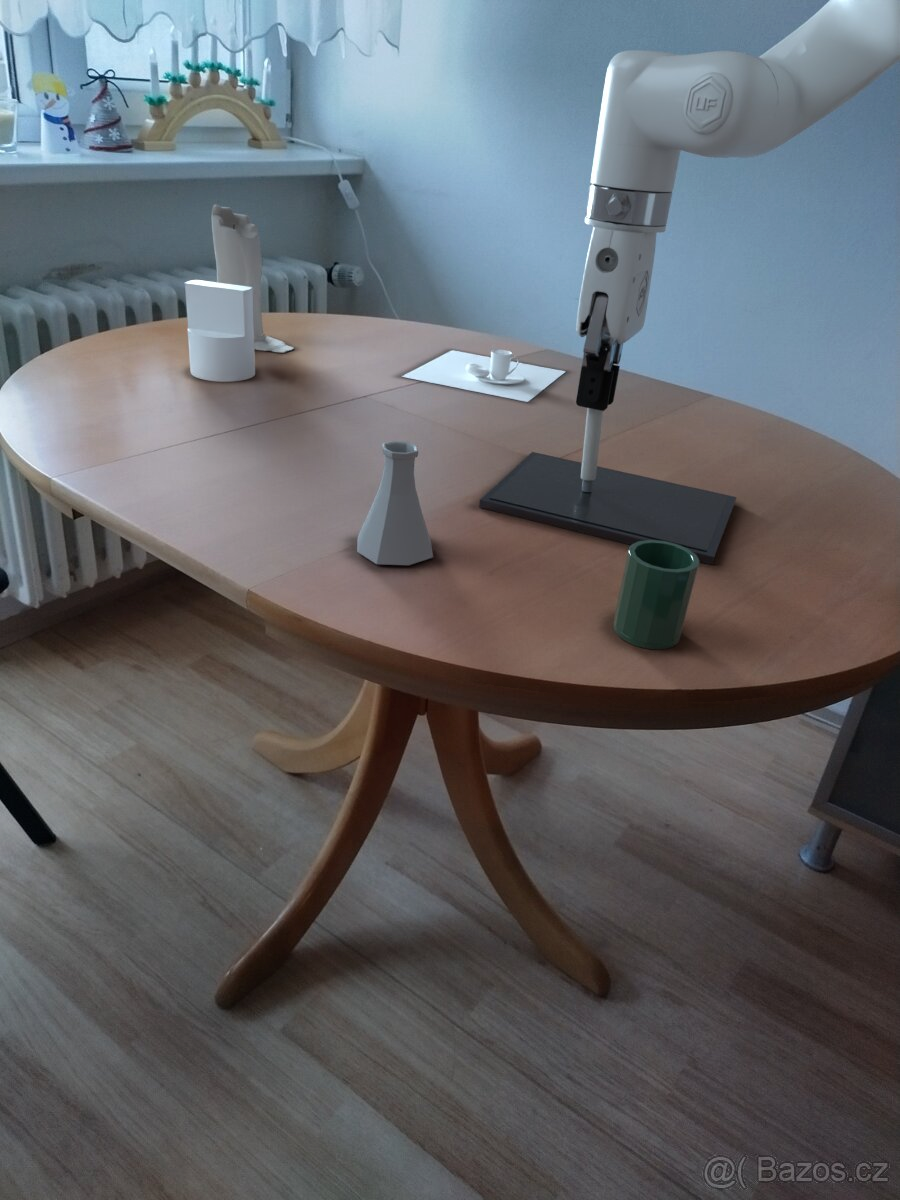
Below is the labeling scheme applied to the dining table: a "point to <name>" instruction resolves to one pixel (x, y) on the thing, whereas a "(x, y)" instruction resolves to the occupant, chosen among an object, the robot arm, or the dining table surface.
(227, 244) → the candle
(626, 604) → the pen holder
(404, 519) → the flask
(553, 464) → the tablet
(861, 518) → the dining table surface
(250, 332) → the base with upright slab
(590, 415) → the stylus
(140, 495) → the dining table surface
